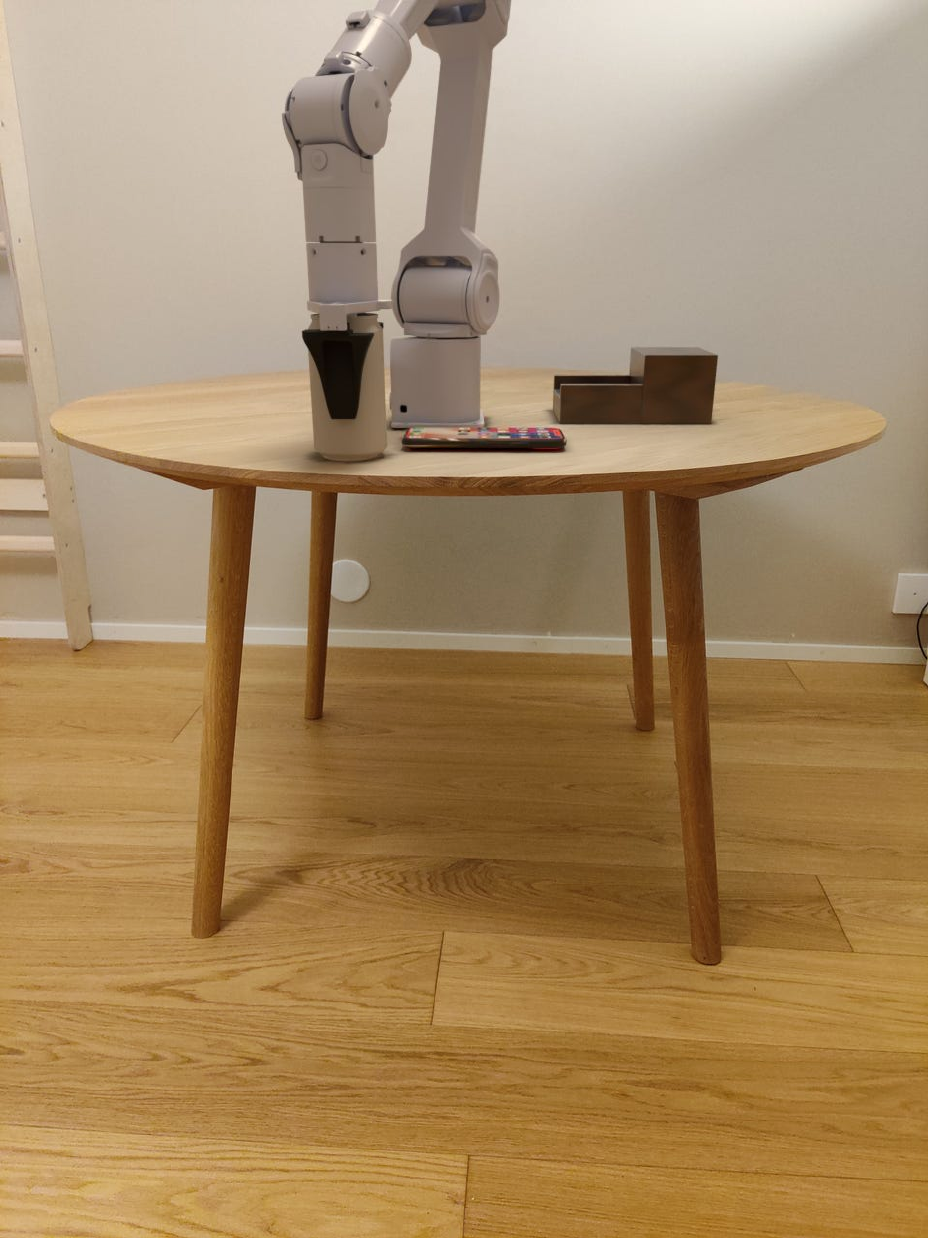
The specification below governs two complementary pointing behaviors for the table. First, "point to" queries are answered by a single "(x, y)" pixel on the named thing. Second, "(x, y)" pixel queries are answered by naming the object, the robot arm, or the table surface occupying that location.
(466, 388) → the robot arm
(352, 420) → the beverage can
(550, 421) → the table surface
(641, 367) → the wooden desk organizer
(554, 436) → the smartphone
